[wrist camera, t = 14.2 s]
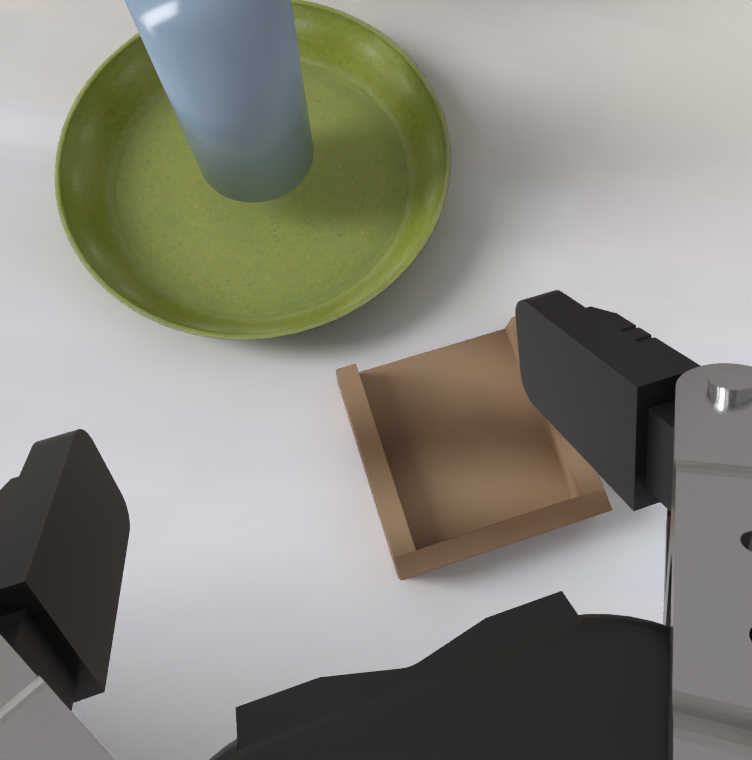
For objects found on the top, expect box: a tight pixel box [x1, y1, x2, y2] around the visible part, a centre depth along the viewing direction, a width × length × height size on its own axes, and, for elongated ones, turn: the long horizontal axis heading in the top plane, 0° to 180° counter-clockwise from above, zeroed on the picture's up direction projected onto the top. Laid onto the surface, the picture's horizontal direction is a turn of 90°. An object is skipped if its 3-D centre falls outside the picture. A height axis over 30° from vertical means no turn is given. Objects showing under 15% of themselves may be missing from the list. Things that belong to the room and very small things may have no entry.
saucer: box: [55, 0, 451, 340], centre depth 33 cm, size 21×21×3 cm
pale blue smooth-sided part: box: [125, 0, 314, 203], centre depth 27 cm, size 8×6×10 cm
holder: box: [336, 316, 612, 580], centre depth 29 cm, size 10×10×2 cm
